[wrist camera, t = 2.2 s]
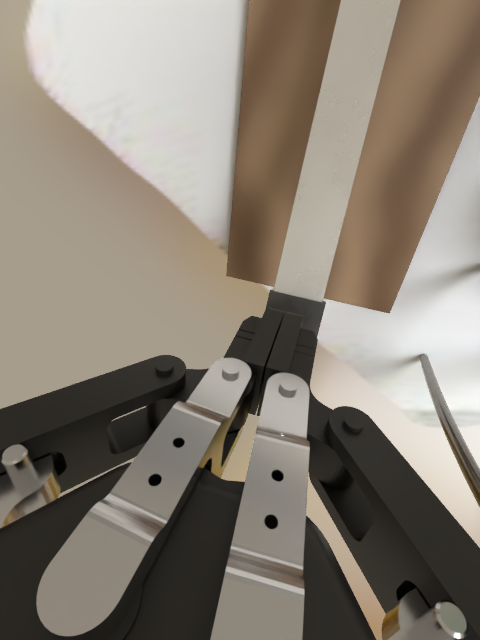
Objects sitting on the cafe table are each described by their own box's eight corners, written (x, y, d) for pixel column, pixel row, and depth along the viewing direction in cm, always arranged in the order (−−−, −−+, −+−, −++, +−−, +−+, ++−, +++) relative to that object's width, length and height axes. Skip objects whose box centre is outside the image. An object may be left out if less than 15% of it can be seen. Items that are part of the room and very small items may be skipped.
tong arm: (436, -86, 18) (445, -114, 16) (320, 352, 22) (320, 356, 21) (350, -88, 19) (353, -114, 17) (254, 334, 23) (250, 338, 21)
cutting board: (581, -170, 17) (597, -190, 16) (388, 305, 33) (389, 313, 32) (269, -162, 20) (263, -178, 19) (231, 269, 36) (226, 275, 35)
